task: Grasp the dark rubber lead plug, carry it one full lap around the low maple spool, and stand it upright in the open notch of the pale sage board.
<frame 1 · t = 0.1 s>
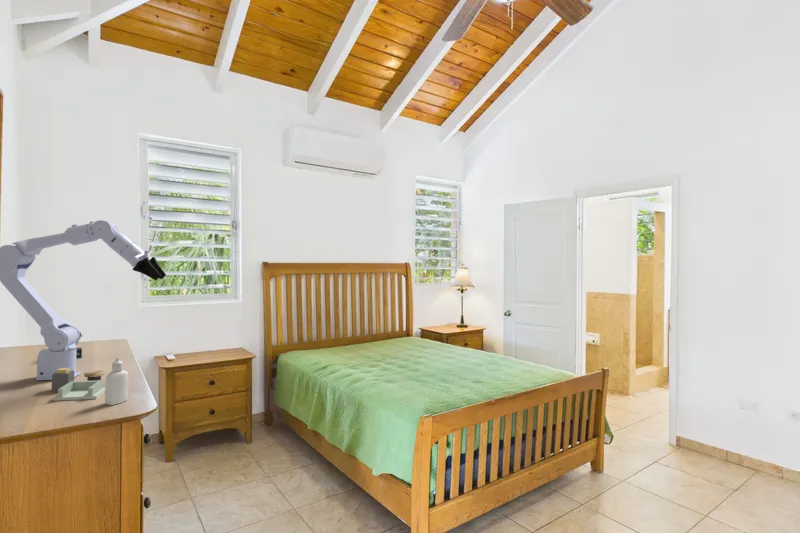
hand: (161, 277, 150), 32 cm above the table, tool tilted 50°, fingers open, 7 cm apart
eye dropper bottle: (116, 403, 121), on the table
spool: (94, 386, 135), on the table
lead plug: (62, 389, 131), on the table
notched board: (81, 395, 126), on the table
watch: (72, 358, 170), on the table
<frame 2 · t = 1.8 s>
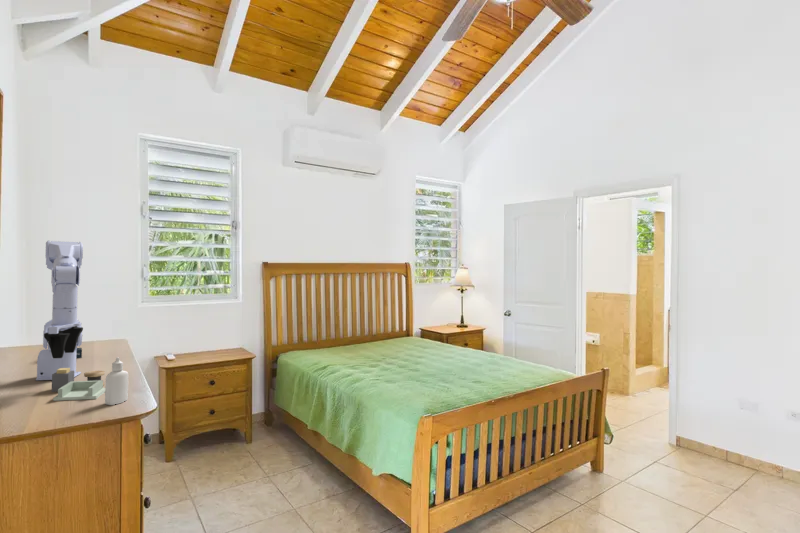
hand: (63, 355, 130), 10 cm above the table, tool pointing down, fingers open, 7 cm apart
nothing on the table moved.
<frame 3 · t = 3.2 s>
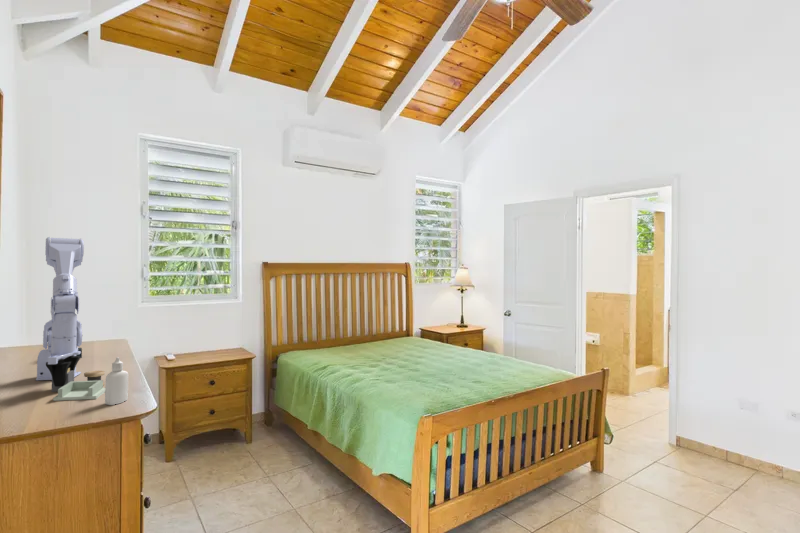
hand: (63, 383, 130), 2 cm above the table, tool pointing down, fingers closed on lead plug, 4 cm apart
lead plug: (62, 389, 131), on the table, touching gripper
everything else where it was.
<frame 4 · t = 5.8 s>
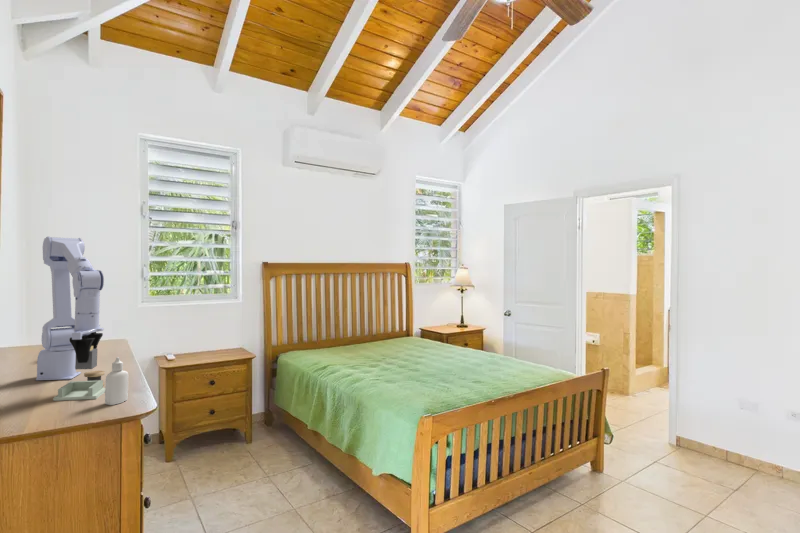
hand: (86, 360, 129), 9 cm above the table, tool pointing down, fingers closed on lead plug, 4 cm apart
lead plug: (86, 367, 129), point 7 cm above the table, touching gripper
everything else where it was.
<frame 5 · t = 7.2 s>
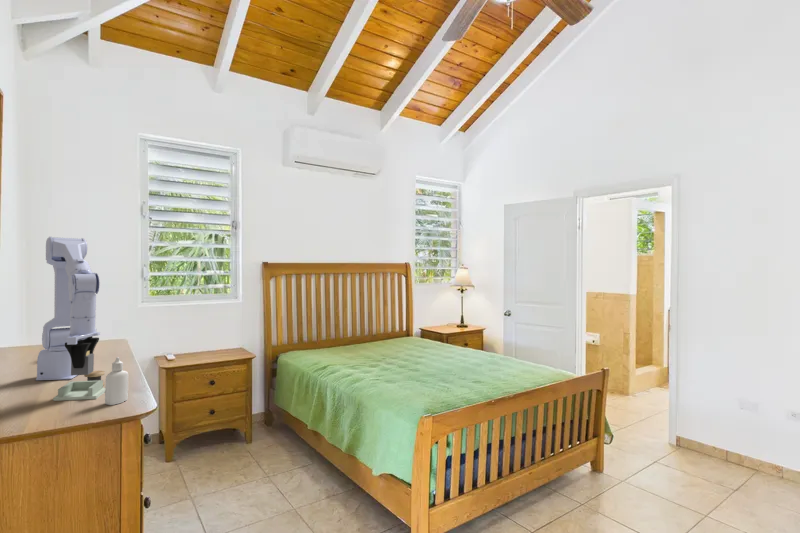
hand: (81, 366, 126), 8 cm above the table, tool pointing down, fingers closed on lead plug, 4 cm apart
lead plug: (82, 373, 126), point 6 cm above the table, touching gripper
everything else where it was.
when the fingers open (4 cm above the table, at t = 8.3 s): lead plug stays where it is, resting on notched board.
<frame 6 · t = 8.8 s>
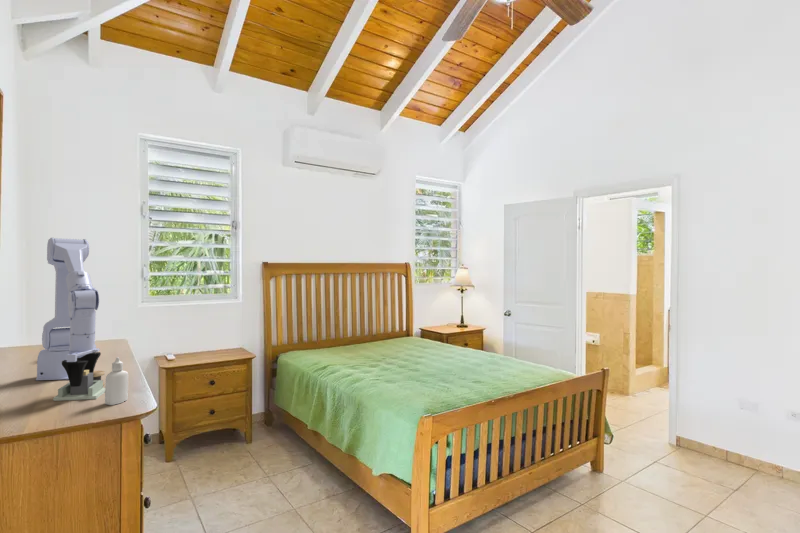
hand: (81, 382, 126), 4 cm above the table, tool pointing down, fingers open, 7 cm apart
lead plug: (81, 392, 126), point 1 cm above the table, touching notched board
everything else where it was.
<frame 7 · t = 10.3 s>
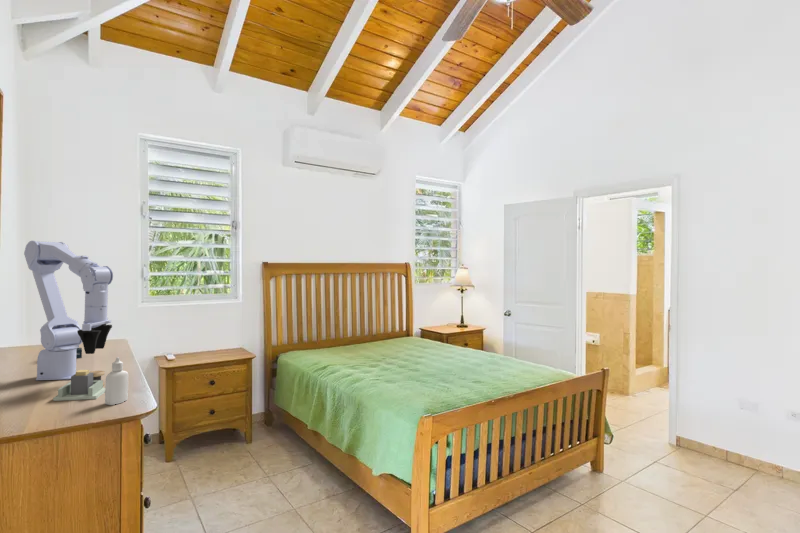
hand: (94, 351, 138), 10 cm above the table, tool pointing down, fingers open, 7 cm apart
nothing on the table moved.
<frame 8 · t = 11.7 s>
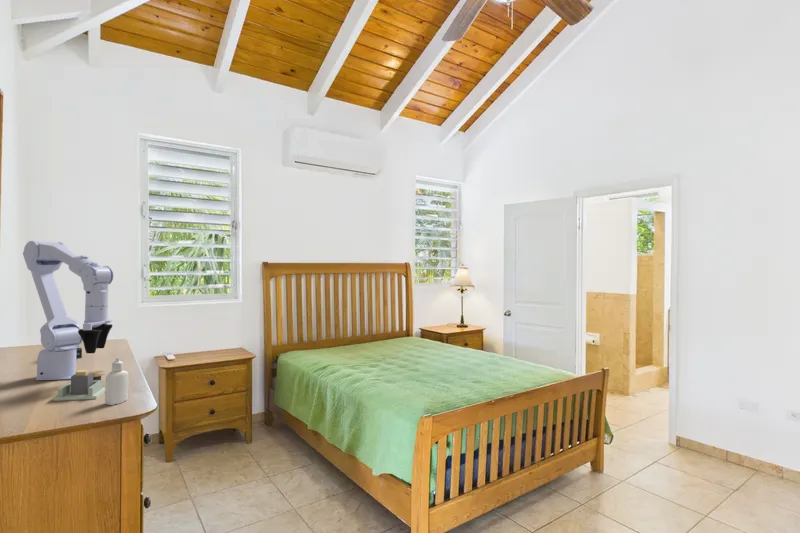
hand: (95, 350, 138), 10 cm above the table, tool pointing down, fingers open, 7 cm apart
nothing on the table moved.
at the end: lead plug 0.4 cm off-centre on the notched board, point 0.8 cm above the notched board's base; lead plug tilted 0°; the gripper is holding nothing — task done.
